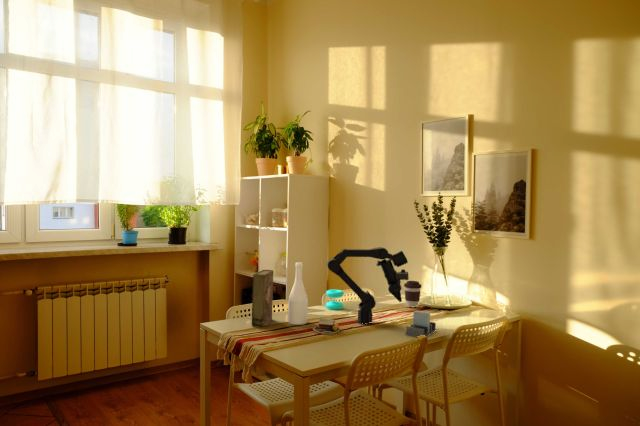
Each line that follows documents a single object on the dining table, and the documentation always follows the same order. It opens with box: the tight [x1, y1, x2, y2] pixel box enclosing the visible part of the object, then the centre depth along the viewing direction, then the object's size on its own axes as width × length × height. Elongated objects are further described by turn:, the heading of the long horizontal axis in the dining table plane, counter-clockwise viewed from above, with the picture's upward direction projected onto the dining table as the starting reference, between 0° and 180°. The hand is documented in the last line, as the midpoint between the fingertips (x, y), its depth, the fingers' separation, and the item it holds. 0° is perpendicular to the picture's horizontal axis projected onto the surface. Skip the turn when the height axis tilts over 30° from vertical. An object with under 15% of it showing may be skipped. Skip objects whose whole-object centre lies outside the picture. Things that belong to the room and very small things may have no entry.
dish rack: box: [404, 321, 437, 338], centre depth 240 cm, size 9×16×4 cm, turn 147°
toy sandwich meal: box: [312, 317, 340, 335], centre depth 239 cm, size 12×14×5 cm
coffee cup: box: [403, 280, 422, 306], centre depth 297 cm, size 10×10×15 cm
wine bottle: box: [287, 261, 309, 326], centre depth 252 cm, size 10×10×30 cm
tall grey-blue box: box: [412, 310, 431, 332], centre depth 240 cm, size 7×3×9 cm, turn 58°
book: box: [251, 269, 274, 327], centre depth 250 cm, size 16×6×25 cm, turn 168°
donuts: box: [325, 289, 345, 311], centre depth 288 cm, size 10×10×10 cm
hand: (400, 299), depth 257 cm, fingers open, 9 cm apart
